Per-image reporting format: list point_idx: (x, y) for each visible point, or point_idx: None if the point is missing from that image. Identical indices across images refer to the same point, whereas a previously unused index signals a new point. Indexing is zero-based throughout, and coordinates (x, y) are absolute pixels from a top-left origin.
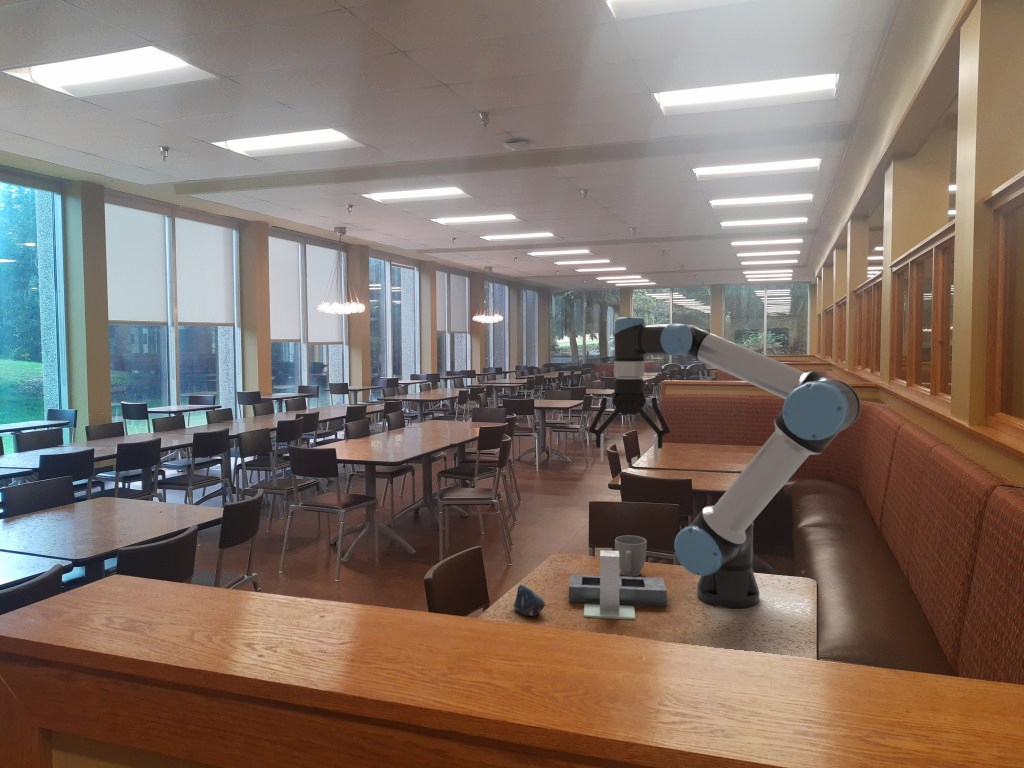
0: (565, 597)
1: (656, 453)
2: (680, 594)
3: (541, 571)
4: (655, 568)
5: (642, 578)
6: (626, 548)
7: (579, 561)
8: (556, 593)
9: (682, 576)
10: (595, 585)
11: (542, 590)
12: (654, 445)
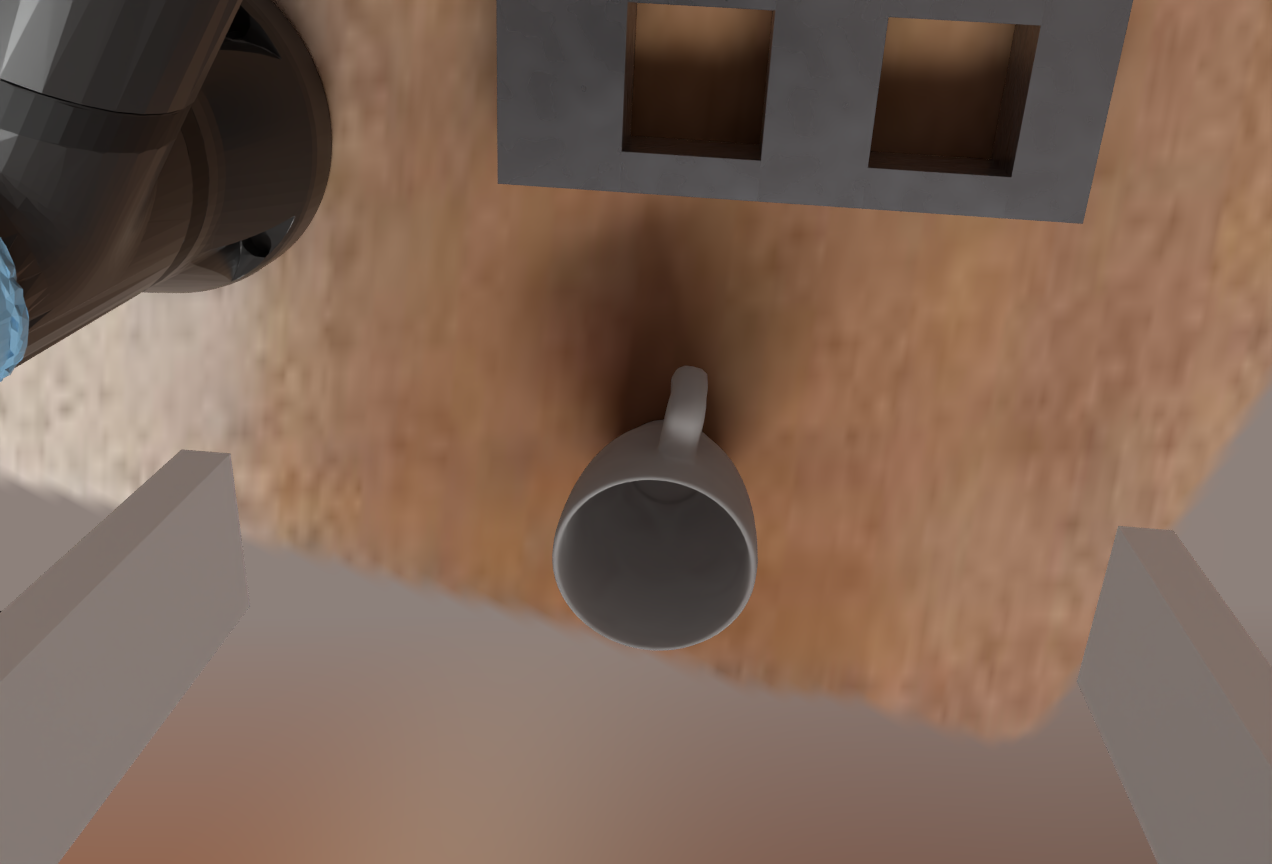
0: None
1: (127, 524)
2: (422, 152)
3: (1184, 488)
4: (526, 540)
5: (626, 169)
6: (692, 468)
7: (933, 640)
8: (1157, 131)
9: (393, 426)
10: (948, 19)
11: (1237, 178)
12: (93, 683)
